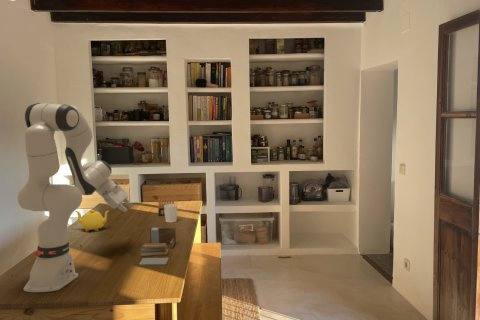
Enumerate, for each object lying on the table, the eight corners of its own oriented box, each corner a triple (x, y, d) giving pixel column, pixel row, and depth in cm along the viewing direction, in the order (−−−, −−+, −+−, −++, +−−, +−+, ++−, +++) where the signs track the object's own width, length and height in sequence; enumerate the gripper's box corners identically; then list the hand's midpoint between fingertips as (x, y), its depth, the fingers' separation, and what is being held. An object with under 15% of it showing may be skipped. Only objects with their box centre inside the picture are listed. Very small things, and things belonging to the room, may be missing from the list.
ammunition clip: (158, 216, 285) (157, 198, 283) (158, 215, 287) (158, 197, 285) (174, 215, 285) (174, 197, 283) (175, 215, 286) (174, 197, 285)
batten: (157, 249, 215) (157, 229, 214) (151, 249, 215) (150, 230, 214) (159, 247, 219) (158, 227, 218) (153, 247, 219) (152, 227, 218)
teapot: (114, 225, 263) (113, 206, 262) (107, 232, 248) (106, 212, 247) (81, 226, 263) (80, 207, 261) (72, 232, 248) (70, 213, 246)
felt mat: (166, 265, 193) (166, 263, 193) (139, 265, 193) (138, 264, 193) (168, 258, 201) (168, 257, 201) (142, 259, 201) (142, 258, 201)
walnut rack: (173, 248, 217) (172, 232, 216) (147, 248, 216) (146, 233, 216) (176, 242, 226) (175, 227, 225) (150, 243, 226) (150, 227, 225)
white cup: (178, 219, 275) (177, 203, 274) (176, 222, 267) (176, 206, 266) (165, 219, 274) (165, 204, 273) (163, 223, 267) (163, 206, 266)
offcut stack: (166, 255, 206) (165, 246, 205) (140, 256, 206) (140, 246, 205) (167, 252, 211) (167, 242, 211) (142, 252, 211) (142, 243, 211)
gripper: (105, 189, 203) (128, 209, 204) (117, 181, 223) (137, 199, 225) (96, 199, 204) (119, 218, 205) (109, 189, 224) (129, 208, 225)
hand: (128, 208), depth 215 cm, fingers open, 8 cm apart
